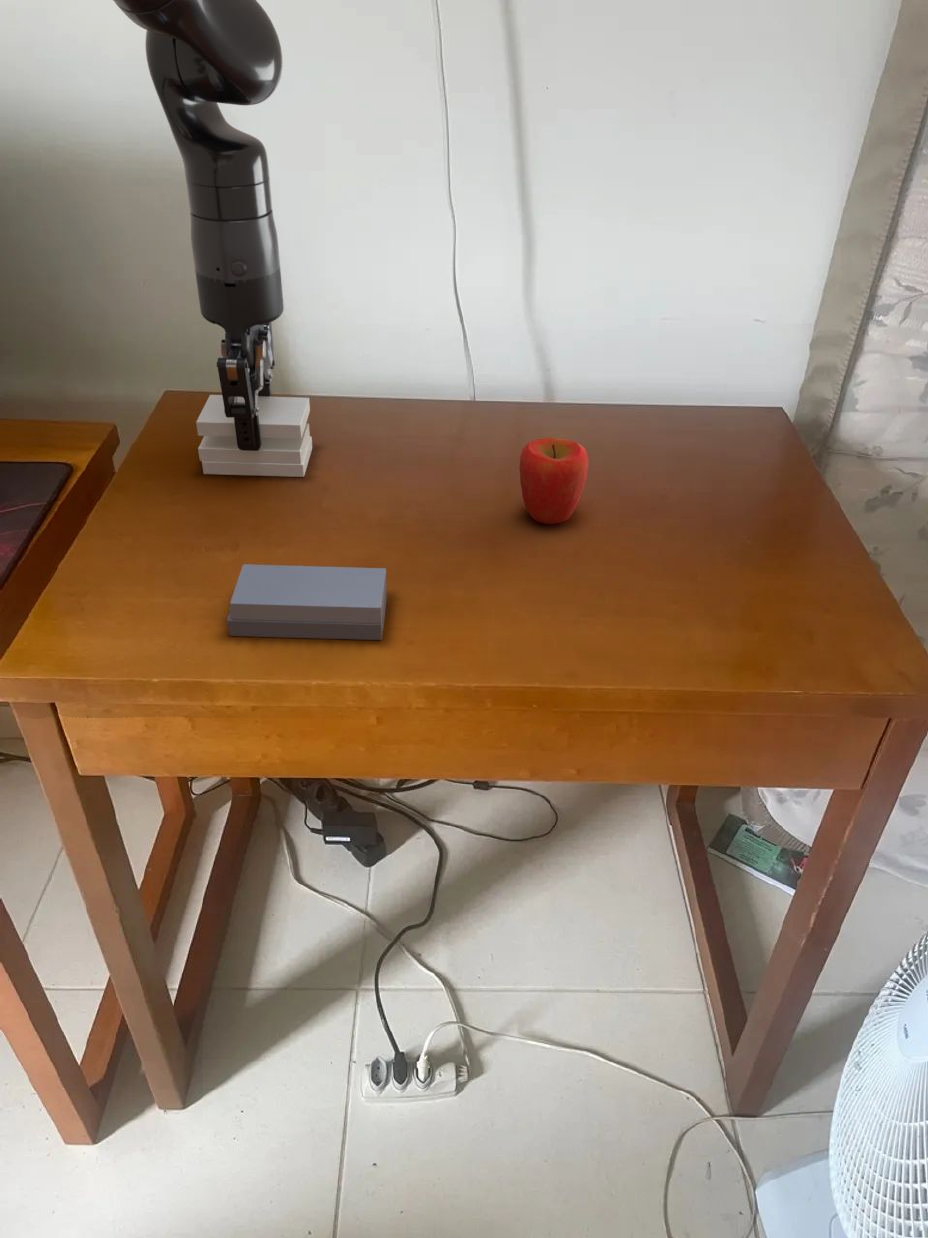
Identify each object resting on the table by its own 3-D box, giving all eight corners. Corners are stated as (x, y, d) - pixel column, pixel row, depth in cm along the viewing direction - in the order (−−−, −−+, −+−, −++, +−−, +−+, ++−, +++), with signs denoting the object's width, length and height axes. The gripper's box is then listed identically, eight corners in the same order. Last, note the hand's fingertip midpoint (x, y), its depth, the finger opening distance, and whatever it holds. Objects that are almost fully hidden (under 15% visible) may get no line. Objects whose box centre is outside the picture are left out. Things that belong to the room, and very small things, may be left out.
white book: (198, 436, 95) (195, 421, 94) (211, 408, 100) (209, 394, 99) (301, 439, 95) (300, 424, 94) (310, 411, 100) (309, 397, 99)
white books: (201, 474, 97) (197, 448, 96) (214, 444, 102) (211, 420, 101) (304, 477, 98) (302, 451, 96) (312, 447, 103) (310, 423, 101)
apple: (562, 494, 96) (569, 424, 92) (594, 525, 92) (603, 452, 87) (505, 506, 94) (509, 435, 90) (534, 538, 90) (540, 465, 85)
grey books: (228, 636, 77) (223, 603, 75) (242, 595, 81) (238, 563, 79) (381, 640, 77) (380, 608, 75) (386, 599, 81) (386, 567, 80)
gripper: (212, 237, 94) (232, 401, 104) (175, 288, 82) (202, 466, 92) (291, 240, 94) (303, 403, 104) (265, 291, 82) (282, 469, 92)
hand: (256, 432), depth 98 cm, fingers closed on white book, 6 cm apart
